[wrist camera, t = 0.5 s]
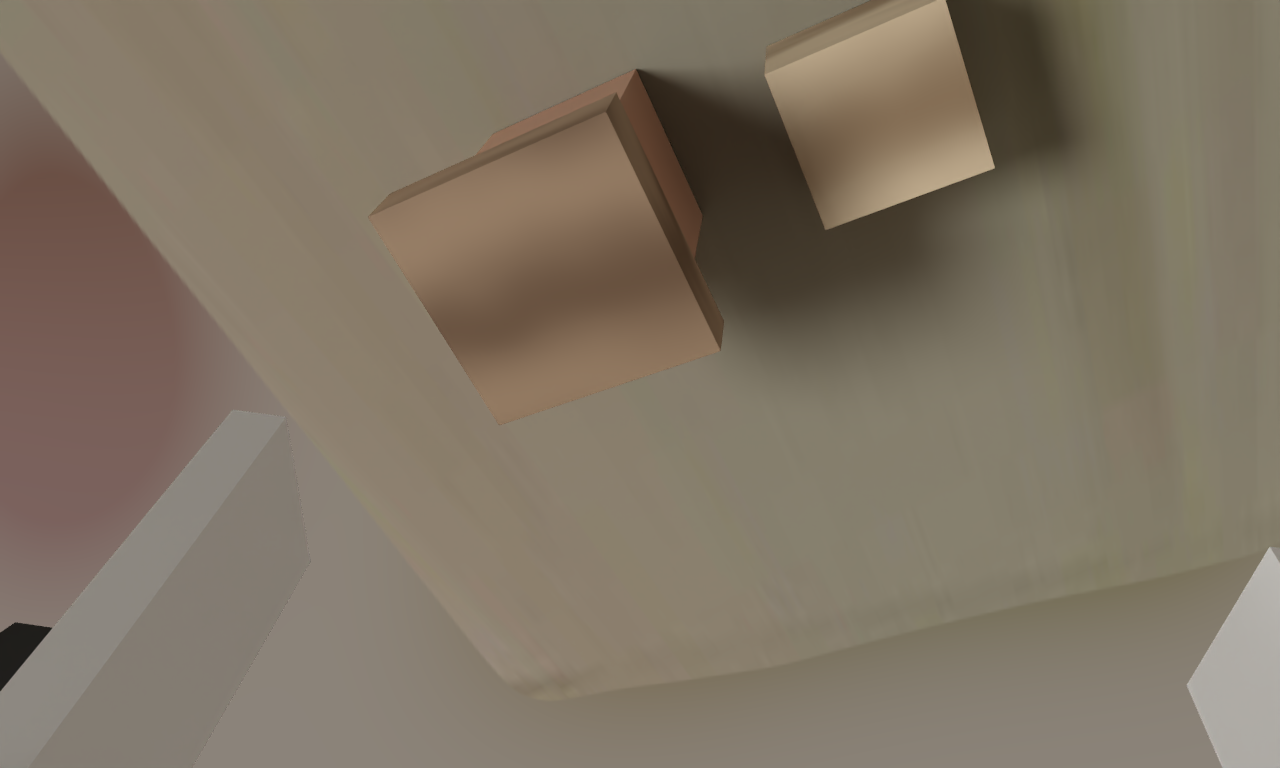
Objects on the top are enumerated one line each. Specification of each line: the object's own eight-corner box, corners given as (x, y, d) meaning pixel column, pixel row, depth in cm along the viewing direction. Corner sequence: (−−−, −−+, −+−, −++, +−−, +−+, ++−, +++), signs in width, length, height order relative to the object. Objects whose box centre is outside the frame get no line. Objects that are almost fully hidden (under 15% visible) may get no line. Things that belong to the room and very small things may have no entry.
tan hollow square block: (493, 133, 38) (430, 209, 32) (636, 68, 36) (601, 135, 30) (566, 268, 41) (523, 364, 35) (702, 215, 39) (685, 306, 32)
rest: (766, 46, 35) (764, 74, 32) (928, -26, 33) (944, -3, 30) (822, 189, 38) (825, 230, 35) (975, 131, 36) (995, 168, 33)
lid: (390, 193, 32) (367, 217, 30) (616, 92, 29) (605, 111, 27) (512, 394, 35) (499, 425, 34) (723, 321, 33) (720, 351, 31)
